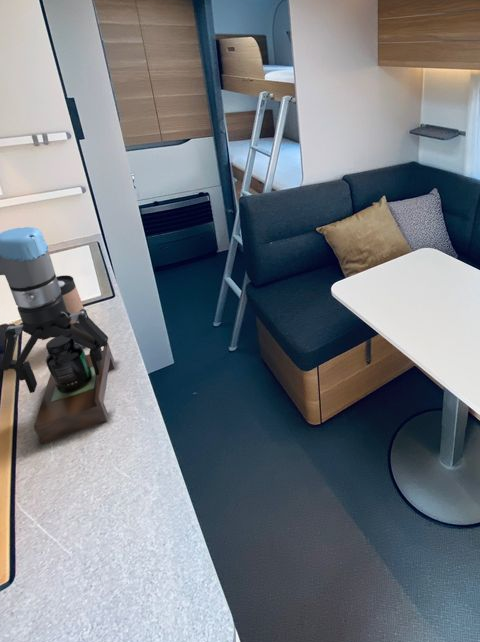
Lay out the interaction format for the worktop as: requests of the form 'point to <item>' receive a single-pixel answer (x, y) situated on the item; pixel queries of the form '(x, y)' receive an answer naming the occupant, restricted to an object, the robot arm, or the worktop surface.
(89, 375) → the supplement bottle
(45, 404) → the wooden plaque with label
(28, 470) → the worktop surface
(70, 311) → the travel mug
